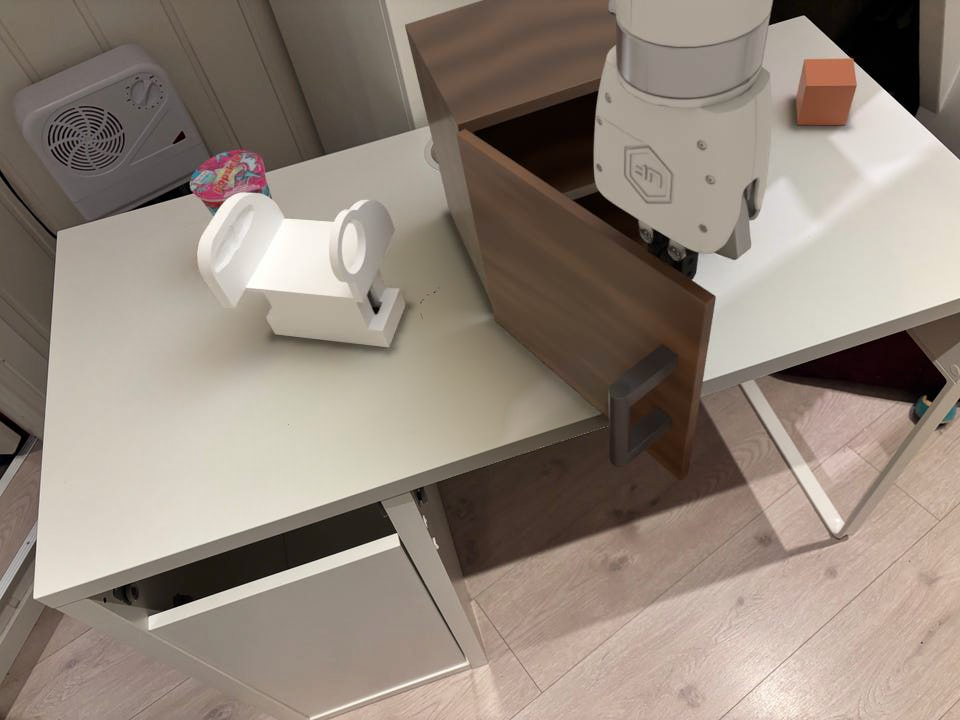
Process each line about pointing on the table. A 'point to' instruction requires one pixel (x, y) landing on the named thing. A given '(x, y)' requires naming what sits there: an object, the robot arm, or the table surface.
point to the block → (825, 91)
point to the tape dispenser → (305, 268)
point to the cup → (229, 178)
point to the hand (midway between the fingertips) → (670, 279)
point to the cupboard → (518, 96)
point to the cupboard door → (592, 307)
